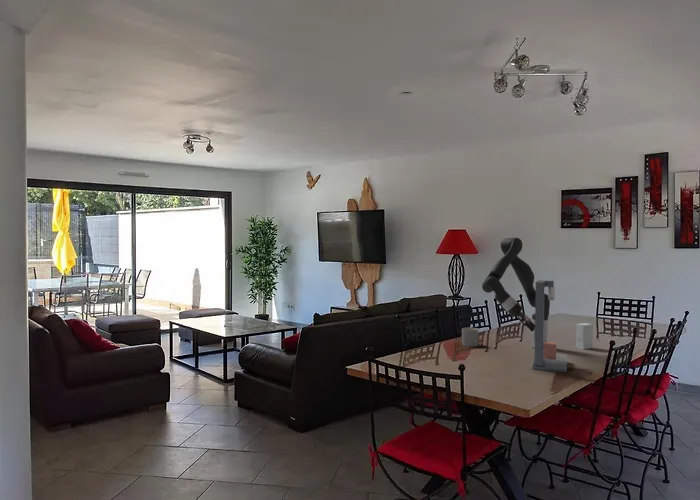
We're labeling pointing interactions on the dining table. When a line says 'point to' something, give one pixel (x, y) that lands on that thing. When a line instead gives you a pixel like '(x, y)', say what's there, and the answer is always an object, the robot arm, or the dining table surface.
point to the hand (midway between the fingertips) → (534, 329)
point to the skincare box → (584, 335)
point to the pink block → (550, 349)
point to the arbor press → (539, 359)
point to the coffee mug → (470, 337)
